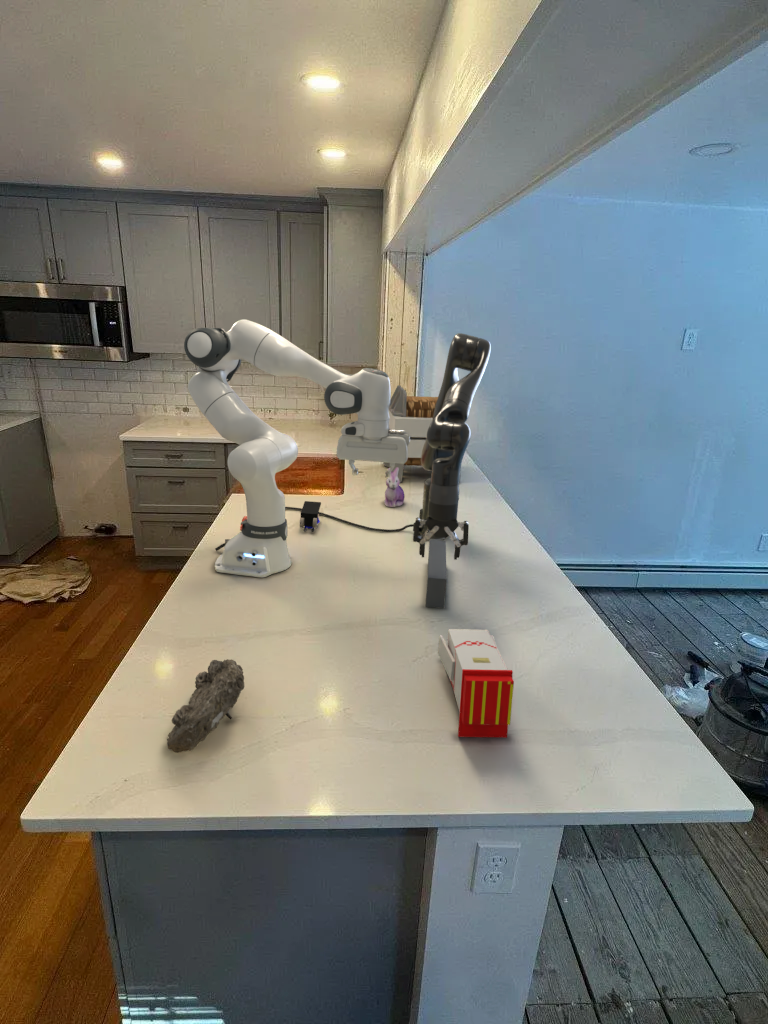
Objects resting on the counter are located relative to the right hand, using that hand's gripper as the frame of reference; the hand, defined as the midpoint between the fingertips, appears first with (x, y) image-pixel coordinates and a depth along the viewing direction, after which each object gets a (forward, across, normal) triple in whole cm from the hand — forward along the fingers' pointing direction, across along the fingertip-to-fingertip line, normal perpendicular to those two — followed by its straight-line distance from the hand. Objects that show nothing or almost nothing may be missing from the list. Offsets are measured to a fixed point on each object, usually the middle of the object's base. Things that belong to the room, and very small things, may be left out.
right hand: (439, 557), depth 150 cm
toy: (+14, -7, +37) cm, 41 cm away
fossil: (+14, +42, +52) cm, 69 cm away
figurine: (+13, +17, -80) cm, 82 cm away
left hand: (-16, +21, -18) cm, 32 cm away
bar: (+13, 0, -10) cm, 17 cm away
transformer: (+12, +8, -128) cm, 129 cm away
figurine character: (+13, +45, -48) cm, 67 cm away
